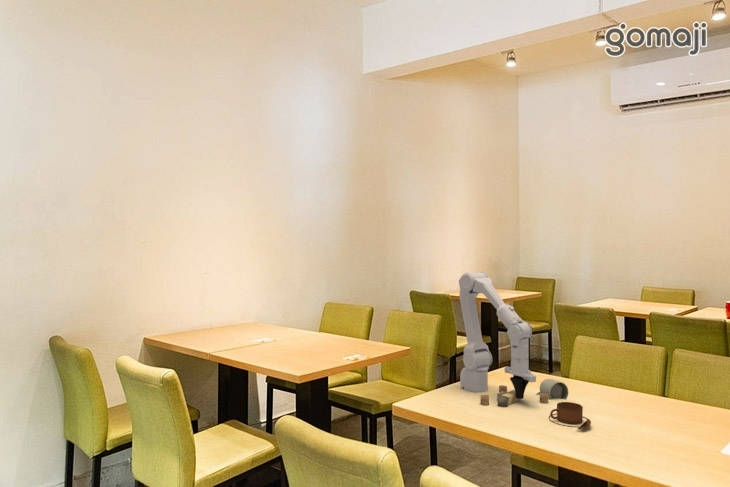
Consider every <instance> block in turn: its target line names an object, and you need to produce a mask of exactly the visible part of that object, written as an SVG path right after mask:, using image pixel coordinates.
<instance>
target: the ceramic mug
mask: <svg viewBox="0 0 730 487" xmlns="http://www.w3.org/2000/svg"><path fill="white" fill-rule="evenodd" d="M540 393H547V394H548V400H551V401H552V400H553V398H554V399H561V400H567V399H568V397H569V388H568V385H566V383H564V382H563V381H559V380H556V379H553V378H545V379H544V380H542V381H541V383H540V384H539V391H538V392H537V393H535V396H538V395H539V396H540Z"/></svg>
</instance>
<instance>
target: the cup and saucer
mask: <svg viewBox="0 0 730 487" xmlns="http://www.w3.org/2000/svg"><path fill="white" fill-rule="evenodd" d="M583 409H584V407H583V405H581V404H579V403H576V402H573V401H572V402H571V401H561V402H557V404H556V408H553V409H552V410H551V411H550V412H549V416H548V419H549V421H550V422H551V423H553V424H555V425H559V426H563V427H569V428H577V430H585V429H586V428H588V427H590V426H591V424H592V421H591V419H589V418H587V417H585V416H584V415H583V413H584V412H583ZM554 412H556V413H554ZM551 419H553V420H558V421H559V422H560V423H558V422H555V421H553V420H551ZM583 419H585V421H584V422H583ZM561 423H562V424H561ZM563 423H564V424H563ZM581 423H582V424H581ZM566 424H569V425H566ZM578 424H581V425H580V426H573V425H578Z"/></svg>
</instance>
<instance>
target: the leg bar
mask: <svg viewBox="0 0 730 487" xmlns="http://www.w3.org/2000/svg"><path fill="white" fill-rule="evenodd" d="M518 401H520V399H517V398H516V393H515V389H511V390H509V391H507V393H505V394H503V395H501V396H498V401H497V406H498V407H501V408H507V407H508V406H510V405H512V404H513V403H516V402H518Z"/></svg>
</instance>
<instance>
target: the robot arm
mask: <svg viewBox="0 0 730 487" xmlns="http://www.w3.org/2000/svg"><path fill="white" fill-rule="evenodd" d="M492 281H493V280H492V278H490V277H489V275H488V274H487V273H486V272H484V271H480V272H464V273H463V274H462V275H461V276H460V278H459V279H458V284H459V296H458V297H459V303H460V306H461V312H462V319H463V325H464V330H465V337H466V341H467V344H466V345H465V346H464V348H463V357H462V361H463V362H462V363H463V365H464V367H463V368H462V369H461V371H460V376H459V377H460V379H459V380H460V382H459V389H460V390H465V391H468V392H473V393H486V392H488V382H489V381H488V380H489V378H488V377H489V374H488V373H489V372H488V371H489V369H490V366H491V365H492V363H493V355H492V353H491V351H490V350H489V345H487V343H485V342H484V340H483V336H482V330H481V325H480V320H479V314H478V307H477V302H476V298H477V297H478V296H479V294H482V295H484V297H485V298H486V299H487V300H488V301H489V303H490V304H491V305H492V306H493V307H494V308H495V309H496V316H497V318H498V319H499V320H500V321H501V323H502V324H503V325H504V327H505V328H506V329H507V331H506V334H507V337H508V339H509V343H510V366H504V373H505V374H510V375H513V376H511V377H509V380H510V382H511V384H512V386H513V390H515V393H516V398H517V399H519V400H522V399H523V400H524V395H525V391H526V388H527V386H528V384H529V383H536V382H537V376H536V375H534V374H533V373H532V371H531V370H530V369H529V368H530V367H529V355H530V354H529V346H530V344H529V339H530V337H532V334H533V329H532V326H531V324H530V323H529V322H528V321H524V320H523V319H522V318H521V317H520V315H518V314H517V312H516V310H515V308H514V306H512V305H511V304H506V303H505V302H504V300H503V299H502V296H500V294H499V293H498V291H497V290H496V288H495V287H494V285H493V283H492Z"/></svg>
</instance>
